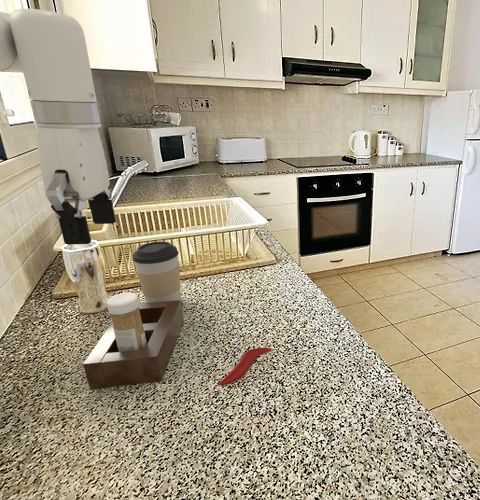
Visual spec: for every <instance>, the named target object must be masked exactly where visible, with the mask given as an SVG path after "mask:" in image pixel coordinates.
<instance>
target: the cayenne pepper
mask: <svg viewBox="0 0 480 500" xmlns="http://www.w3.org/2000/svg"><path fill="white" fill-rule="evenodd" d="M271 351H272V349H271V348H269V347H255V348H251V349H249V350H247V351H246V352H244V353H243V354H242V356H241V357H240V359H239V361H238V362H237V364H236V365H235V366H234V367H233V368H232V370H230V372H228V374H227V375H226V376H225V377H224V378H223V379H221V380H220V381H219V382H218V383H217V386H224V385H225V386H226V385H230V384H232V383H234V382H237V381H238V380H239V379H241V378H243V376H245V374H246V373H247V372H248V371H249V370H250V367H251V366H252V364H253V362H254V361H255V360H256V359H258V357H259V356H261V355H263V354H266V353H268V352H271Z"/></svg>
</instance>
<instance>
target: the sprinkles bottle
mask: <svg viewBox="0 0 480 500" xmlns="http://www.w3.org/2000/svg"><path fill="white" fill-rule="evenodd" d="M139 303H140V300H139V296H138V295H137V294H136V293H134V292H121V293H118V294H114V295H113V296H111V297H109V299H108V300H107V312H108V313H109V315H110V318H111V323H113V329H114V334H115V338H116V342H117V346H118V350H119V352H124V351H134V350H144V349H146V347H147V341H146V337H145V332H144V328H143V324H142V321H141V316H140V311H139Z"/></svg>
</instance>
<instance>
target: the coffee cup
mask: <svg viewBox="0 0 480 500" xmlns="http://www.w3.org/2000/svg"><path fill="white" fill-rule="evenodd" d="M179 254H180V253H179V251H178V248H177V247H176V246H175V245H173V244H172V243H171V242H169V241H160V240H159V241H152V242H146V243H144V244H141V245H140V246H138V247H137V248H136V250H135V251H134V252H133V254H132V261H133V262H134V265H135V268H136V269H135V273H136V275H137V279H138V281H139V285H140V289H141V292H142V295H143V296H144V299H145V303H149V302H162V301H176V300H181V301H182V298H181V297H182V295H181V293H182V292H181V272H180V271H181V270H180V262H179Z"/></svg>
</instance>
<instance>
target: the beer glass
mask: <svg viewBox="0 0 480 500" xmlns="http://www.w3.org/2000/svg"><path fill="white" fill-rule="evenodd" d="M61 251H62V258H63V263H64V268H65V270H66V274H67V276H68V277H69V280H70V281H71V284H72V285H73V288H74V289H75V291H76V293H77V296H78V299H79V300H78V301H79V311H80V313H83V314H86V315H87V314H90V315H91V314H97V313H100V312H103V311H106V310H108V308H107V300H108V299H109V298H110V296H109V293H108V290H107V282H106V281H107V280H106V279H107V277H106V275H107V274H106V263H105V259H104V255H103V252H102V249H101V246H100V243H99V241H97V240H93V239H91V242H90V243H89V244H73V245H67V244H64V245H63V246H62V247H61Z"/></svg>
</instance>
